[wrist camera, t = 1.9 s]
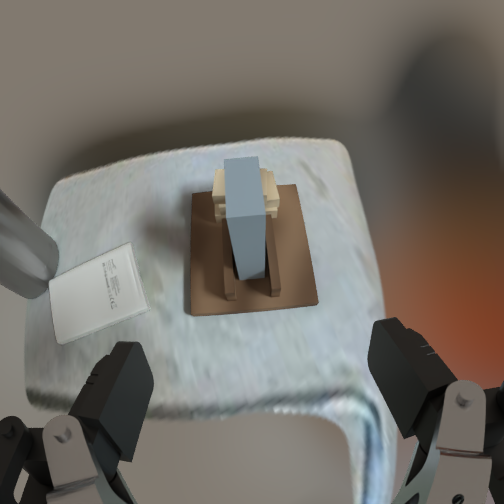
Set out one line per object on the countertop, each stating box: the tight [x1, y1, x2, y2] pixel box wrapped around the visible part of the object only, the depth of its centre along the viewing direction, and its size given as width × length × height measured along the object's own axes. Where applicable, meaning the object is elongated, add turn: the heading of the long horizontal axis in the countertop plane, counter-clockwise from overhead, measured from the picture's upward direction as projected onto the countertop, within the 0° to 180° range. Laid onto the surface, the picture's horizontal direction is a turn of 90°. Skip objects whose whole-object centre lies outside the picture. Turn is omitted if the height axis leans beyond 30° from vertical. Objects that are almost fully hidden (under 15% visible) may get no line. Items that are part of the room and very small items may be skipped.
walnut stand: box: [191, 184, 319, 316], centre depth 28 cm, size 12×14×4 cm
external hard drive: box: [49, 242, 151, 345], centre depth 27 cm, size 2×8×12 cm
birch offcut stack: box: [212, 169, 280, 223], centre depth 29 cm, size 7×4×4 cm, turn 95°
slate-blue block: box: [224, 156, 266, 280], centre depth 23 cm, size 2×5×11 cm, turn 5°
